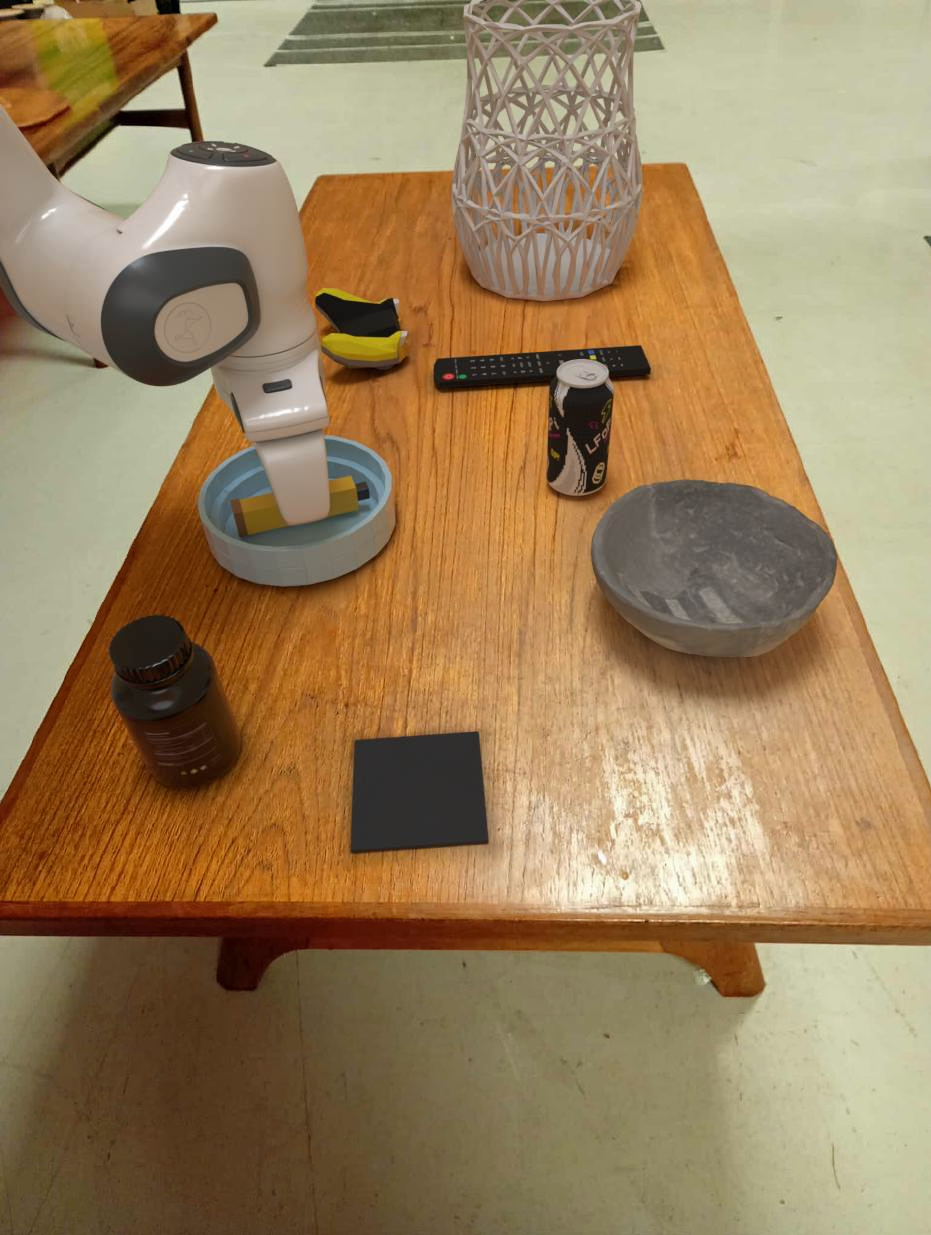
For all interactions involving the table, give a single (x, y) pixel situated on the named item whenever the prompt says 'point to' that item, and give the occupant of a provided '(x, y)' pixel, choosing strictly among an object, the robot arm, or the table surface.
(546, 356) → the remote control
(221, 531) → the blue bowl
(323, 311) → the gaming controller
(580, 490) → the beverage can
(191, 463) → the table surface
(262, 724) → the table surface
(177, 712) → the supplement bottle
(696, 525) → the bowl
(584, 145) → the vase
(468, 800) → the mat
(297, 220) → the robot arm
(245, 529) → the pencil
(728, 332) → the table surface
